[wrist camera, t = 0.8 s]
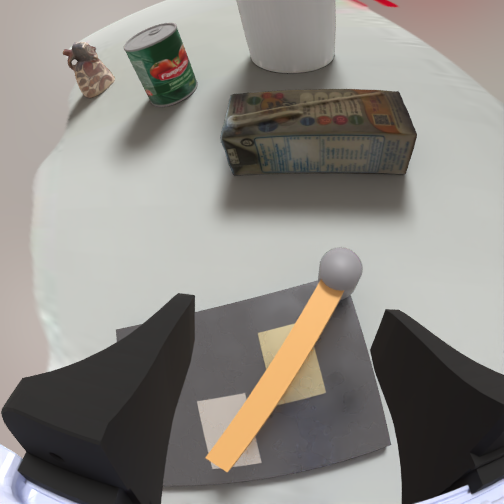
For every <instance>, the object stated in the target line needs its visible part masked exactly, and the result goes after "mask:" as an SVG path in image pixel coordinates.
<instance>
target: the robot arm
mask: <svg viewBox="0 0 504 504" xmlns="http://www.w3.org/2000/svg"><path fill="white" fill-rule="evenodd" d="M194 342H195V295H189V294H180V293H178V294H177V295H175V296H174V297H173V298H172V299H171V300H170V301H169V302H168V303H167V304H165V305H164V306H163V307H162V308H161V309H160V310H159V311H158V312H157V313H155V314H154V315H153V316H152V317H151V318H149V319H148V320H147V321H146V322H145V323H143V324H142V325H141V326H140V327H138V328H137V329H136V330H134V331H133V332H132V333H130V334H129V335H127V336H126V337H124V338H123V339H121V340H120V341H118V342H117V343H115V344H113V345H111V346H110V347H108V348H106V349H104V350H102V351H100V352H98V353H96V354H94V355H92V356H90V357H88V358H86V359H84V360H82V361H79V362H77V363H74V364H71V365H69V366H66V367H63V368H60V369H57V370H54V371H51V372H47V373H43V374H39V375H34V376H30V377H25V378H22V380H21V381H20V383H19V384H18V385H17V387H16V389H15V390H14V391H13V393H12V394H11V396H10V397H9V399H8V400H7V402H6V403H5V405H4V407H3V408H2V411H1V414H2V417H3V420H4V423H5V424H6V426H7V427H8V429H9V430H10V431H11V433H12V434H13V435H14V437H15V438H16V439H17V441H18V442H19V443H20V444H21V446H22V447H23V448H24V449H25V450H26V454H25V456H24V458H23V459H22V458H21V457H20V456H19V455H17V454H16V453H14V452H13V451H11V450H9V449H8V448H6V447H4V446H2V445H1V444H0V504H161V497H162V487H163V479H164V471H165V464H166V457H167V451H168V445H169V439H170V433H171V428H172V422H173V418H174V414H175V410H176V407H177V404H178V400H179V397H180V394H181V391H182V388H183V385H184V382H185V379H186V375H187V372H188V369H189V366H190V363H191V358H192V353H193V347H194ZM370 351H371V356H372V361H373V365H374V370H375V373H376V376H377V378H378V381H379V384H380V387H381V389H382V392H383V394H384V397H385V400H386V403H387V405H388V408H389V411H390V414H391V417H392V420H393V423H394V428H395V433H396V438H397V443H398V450H399V457H400V465H401V479H402V504H504V375H503V374H500V373H498V372H495V371H493V370H491V369H489V368H487V367H485V366H483V365H481V364H479V363H477V362H475V361H473V360H472V359H470V358H468V357H466V356H465V355H463V354H461V353H460V352H458V351H457V350H455V349H454V348H452V347H451V346H449V345H448V344H446V343H445V342H444V341H442V340H441V339H439V338H438V337H437V336H435V335H434V334H433V333H431V332H430V331H429V330H427V329H426V328H425V327H423V326H422V325H421V324H419V323H418V322H417V321H415V320H414V319H412V318H411V317H410V316H408V315H407V314H405V313H403V312H402V311H400V310H389V309H386V310H385V312H384V315H383V318H382V321H381V323H380V326H379V329H378V331H377V334H376V336H375V339H374V341H373V344H372V346H371V349H370Z"/></svg>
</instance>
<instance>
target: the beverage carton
mask: <svg viewBox="0 0 504 504" xmlns="http://www.w3.org/2000/svg"><path fill="white" fill-rule="evenodd" d="M416 137H417V133H416V131H415V128H414V126H413V124H412V121H411V118H410V116H409V113H408V111H407V109H406V107H405V105H404V103H403V100H402V97H401V95H400V93H399V92H398V91H397V92H392V91H383V90H359V89H318V90H285V91H271V92H258V93H243V94H233V95H231V97H230V100H229V105H228V110H227V114H226V117H225V121H224V125H223V128H222V132H221V137H220V138H221V143H222V145H223V147H224V149H225V152H226V156H227V160H228V164H229V166H230V167H231V170H232V173H233V174H234V175H248V174H282V173H336V172H347V173H351V172H353V173H390V174H405V173H406V171H407V168H408V165H409V161H410V159H411V155H412V152H413V149H414V145H415V141H416Z"/></svg>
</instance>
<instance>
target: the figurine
mask: <svg viewBox="0 0 504 504" xmlns="http://www.w3.org/2000/svg"><path fill="white" fill-rule="evenodd" d="M95 50H96V48H95V47H92V46H90V45H89V44H88V43H85V42H75V43H74V44H73V46H72V50H67V49H65V50H64V51H63V55H66V56H69V57H68V65H69V67H70V68H71V69H72V70H74V72H75V76H76V80H77V83H78V85H79V88H80V90H81V92H82V93H83V95H84V96H85V97H87V98H91V97H94V96H97V95H99V94H100V93H102V92H104V91H105V90H106V89H107V88H108V87H109V86H110V85H111V84H112V83H113V82H114V79H115V77H114V76H113V75H112V73H111V72H110V70H109V69H108V68H106V66H105V65H104V64H103V63H102V62H101V60H100V59H98V56H97V53H96V51H95ZM73 59H76V60H77V61H78V62H77V64H76V65H72V63H71V62H72V60H73Z"/></svg>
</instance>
